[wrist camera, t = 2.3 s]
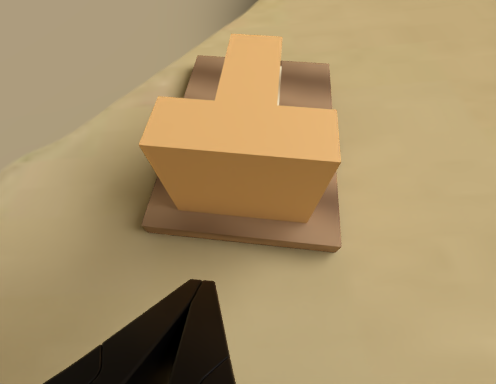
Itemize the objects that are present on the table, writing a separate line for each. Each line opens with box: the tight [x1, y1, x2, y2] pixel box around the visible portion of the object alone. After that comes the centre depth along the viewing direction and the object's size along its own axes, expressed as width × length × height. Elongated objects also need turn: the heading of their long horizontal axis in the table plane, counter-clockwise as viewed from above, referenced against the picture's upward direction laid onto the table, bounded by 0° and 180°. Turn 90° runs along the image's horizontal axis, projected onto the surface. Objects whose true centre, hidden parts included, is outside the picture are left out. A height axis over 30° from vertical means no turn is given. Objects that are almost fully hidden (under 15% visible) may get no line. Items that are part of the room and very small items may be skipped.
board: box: [141, 55, 341, 252], centre depth 24 cm, size 21×15×2 cm
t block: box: [139, 34, 341, 223], centre depth 18 cm, size 10×10×8 cm
